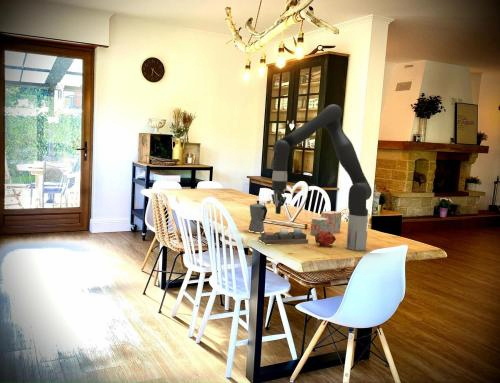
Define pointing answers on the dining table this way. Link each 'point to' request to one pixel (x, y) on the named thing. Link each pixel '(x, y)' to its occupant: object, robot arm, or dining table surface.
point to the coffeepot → (257, 217)
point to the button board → (284, 238)
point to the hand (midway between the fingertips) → (277, 213)
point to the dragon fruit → (324, 238)
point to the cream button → (283, 231)
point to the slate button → (297, 231)
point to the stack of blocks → (326, 223)
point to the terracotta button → (269, 233)
